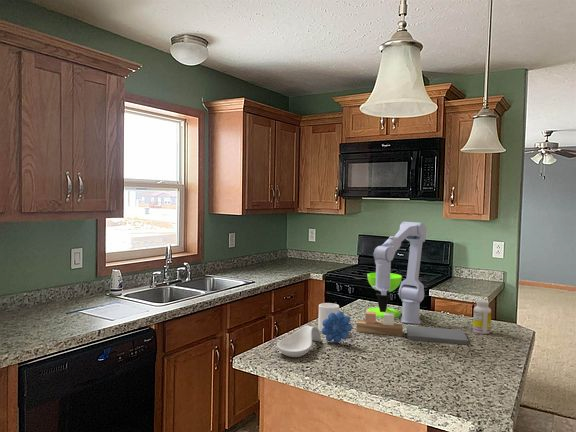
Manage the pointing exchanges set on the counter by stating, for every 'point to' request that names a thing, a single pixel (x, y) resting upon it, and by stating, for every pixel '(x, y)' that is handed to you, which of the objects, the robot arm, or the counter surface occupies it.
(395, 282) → the wineglass
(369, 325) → the pallet
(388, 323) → the block
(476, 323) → the supplement bottle
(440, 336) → the dock
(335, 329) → the blue lobed knob
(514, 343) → the counter surface
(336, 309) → the mug
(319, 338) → the spoon rest
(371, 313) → the terracotta crate
